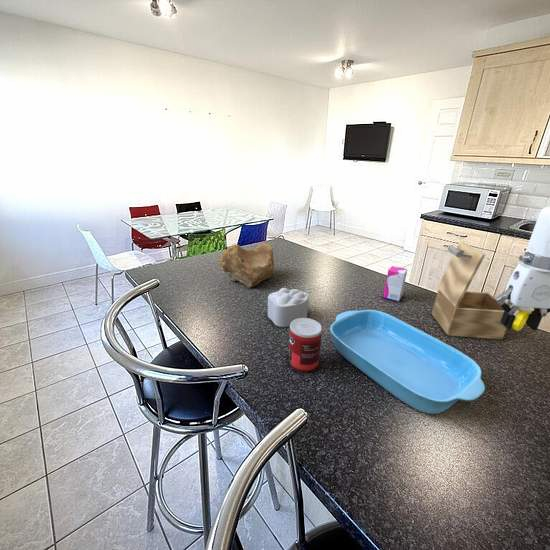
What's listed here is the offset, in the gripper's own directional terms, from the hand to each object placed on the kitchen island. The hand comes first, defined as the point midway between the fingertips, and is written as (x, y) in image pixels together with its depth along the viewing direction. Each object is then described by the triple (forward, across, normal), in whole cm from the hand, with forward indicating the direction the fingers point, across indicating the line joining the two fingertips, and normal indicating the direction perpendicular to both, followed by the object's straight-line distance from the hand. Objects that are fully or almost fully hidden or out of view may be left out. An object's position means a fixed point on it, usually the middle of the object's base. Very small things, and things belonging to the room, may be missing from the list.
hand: (518, 326), depth 75 cm
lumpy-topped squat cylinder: (+9, -60, +13) cm, 62 cm away
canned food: (+9, -55, -9) cm, 56 cm away
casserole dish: (+9, -32, -8) cm, 34 cm away
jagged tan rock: (+9, -77, +38) cm, 86 cm away
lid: (-8, -9, +15) cm, 19 cm away
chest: (+10, -4, +15) cm, 18 cm away
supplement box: (+10, -22, +32) cm, 40 cm away
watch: (+1, 0, 0) cm, 1 cm away
